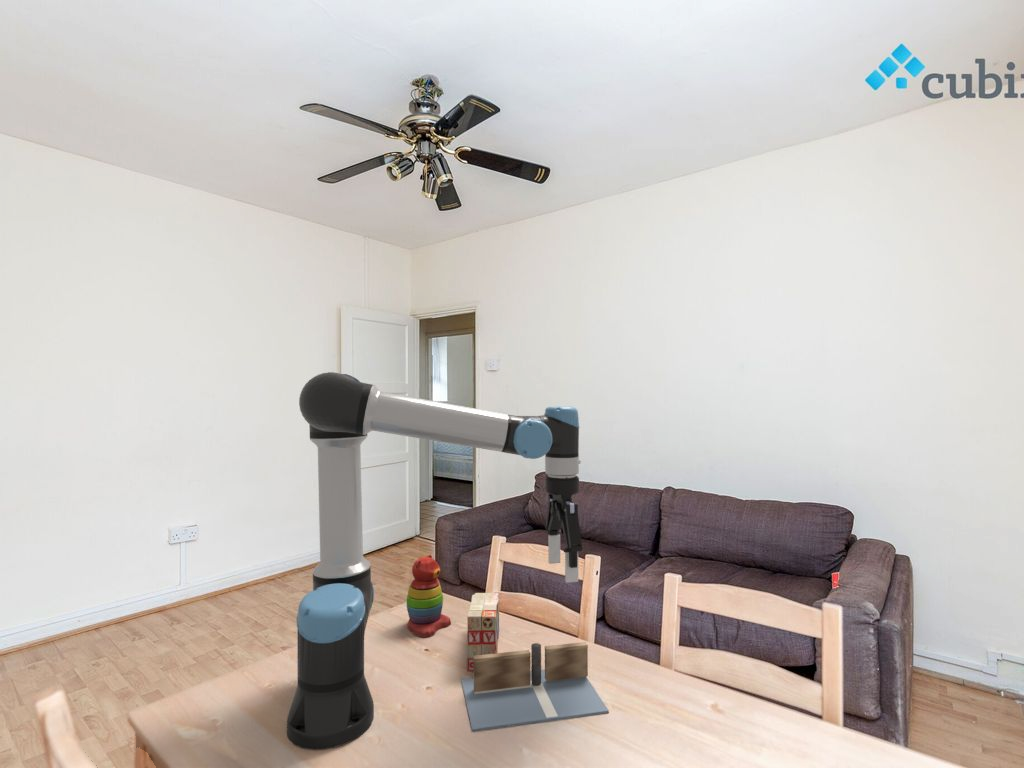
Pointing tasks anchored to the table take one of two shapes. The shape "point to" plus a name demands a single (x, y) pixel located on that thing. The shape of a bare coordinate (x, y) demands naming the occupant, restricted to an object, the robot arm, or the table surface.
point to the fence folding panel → (566, 661)
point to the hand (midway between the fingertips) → (562, 571)
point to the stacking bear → (425, 599)
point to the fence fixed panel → (507, 669)
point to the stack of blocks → (482, 626)
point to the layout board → (531, 703)
